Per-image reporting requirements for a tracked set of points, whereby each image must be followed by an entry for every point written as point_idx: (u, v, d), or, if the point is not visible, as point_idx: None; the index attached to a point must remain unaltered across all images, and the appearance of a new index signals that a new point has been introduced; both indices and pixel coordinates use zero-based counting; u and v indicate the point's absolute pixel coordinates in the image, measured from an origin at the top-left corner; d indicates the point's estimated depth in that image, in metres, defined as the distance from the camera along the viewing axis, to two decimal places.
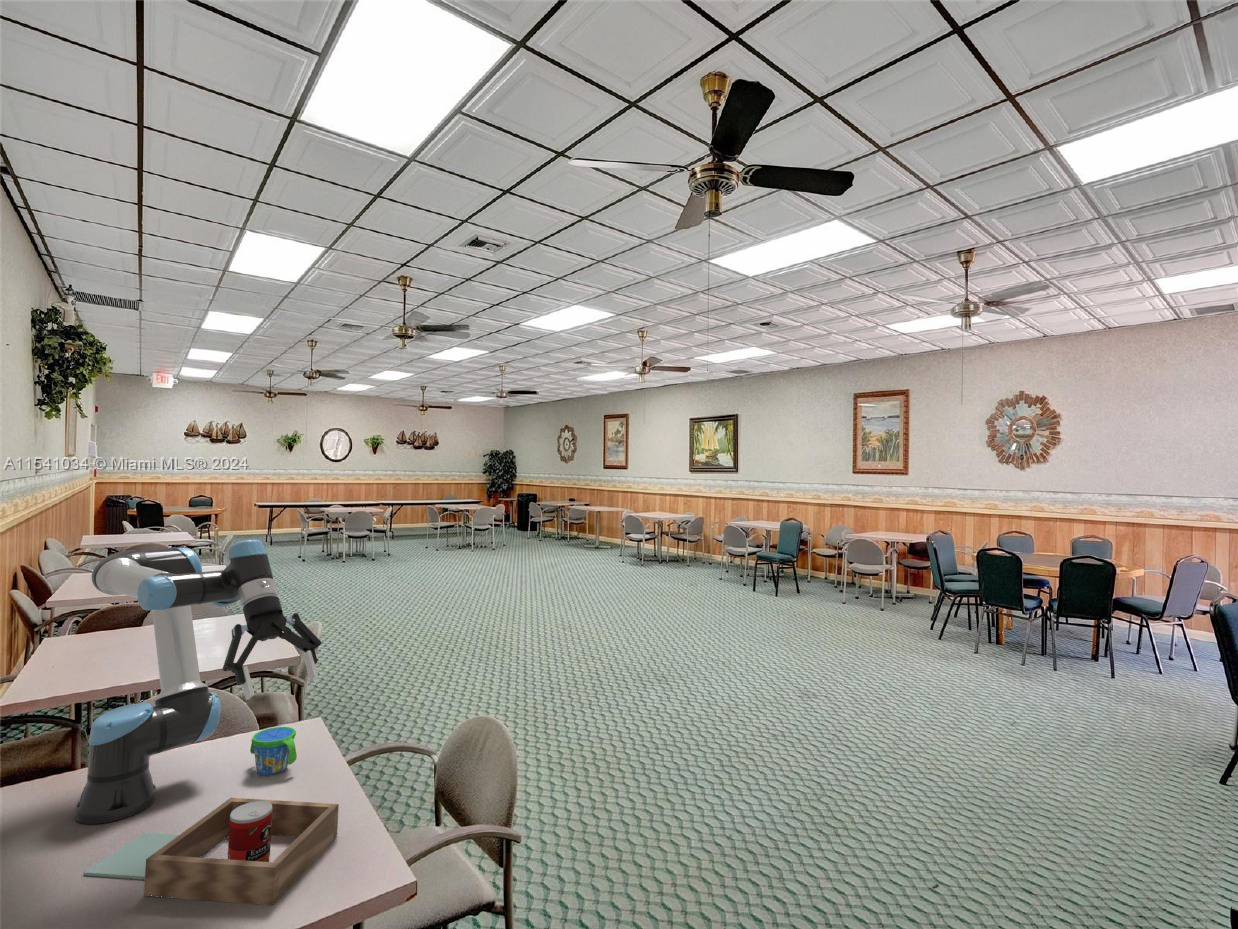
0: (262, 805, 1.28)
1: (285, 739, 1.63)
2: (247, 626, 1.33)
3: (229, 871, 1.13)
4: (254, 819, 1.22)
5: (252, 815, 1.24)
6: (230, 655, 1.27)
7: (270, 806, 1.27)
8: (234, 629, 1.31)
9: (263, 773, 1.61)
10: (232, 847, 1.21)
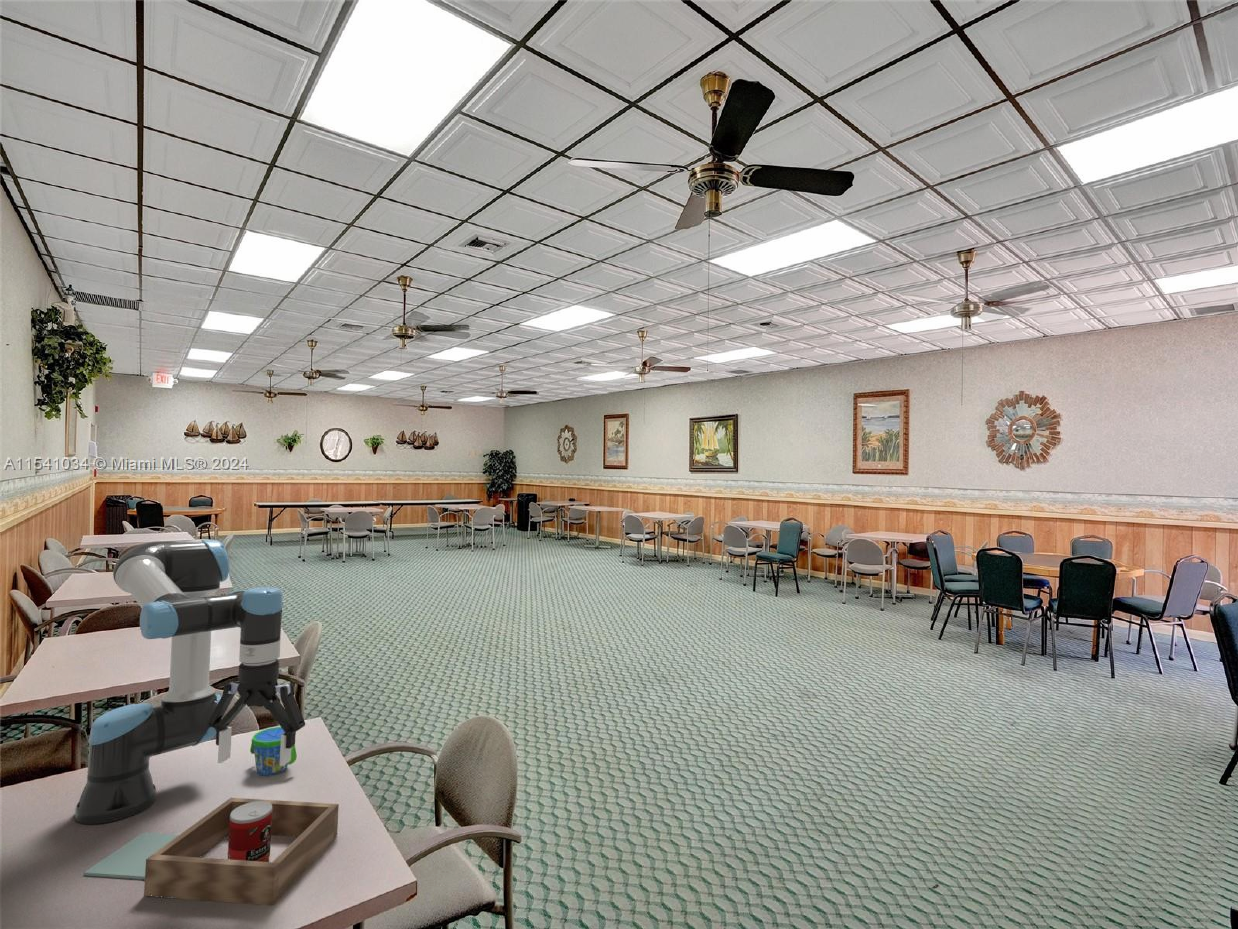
0: (262, 805, 1.28)
1: None
2: (237, 687, 1.26)
3: (229, 871, 1.13)
4: (254, 819, 1.22)
5: (251, 815, 1.24)
6: (212, 716, 1.25)
7: (270, 806, 1.27)
8: None
9: (263, 773, 1.61)
10: (232, 847, 1.21)
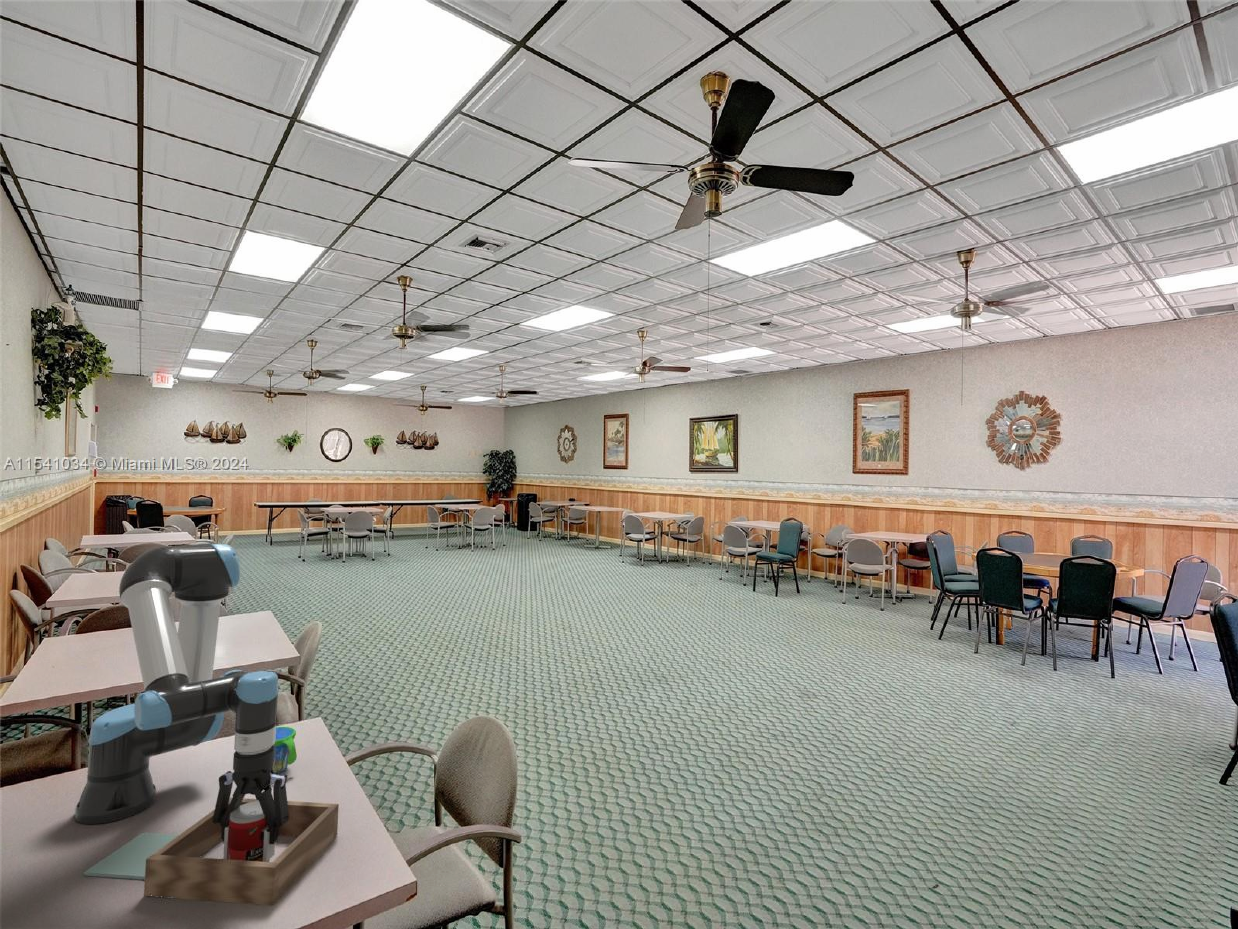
0: None
1: (285, 739, 1.63)
2: (232, 776, 1.25)
3: (229, 871, 1.13)
4: (254, 819, 1.22)
5: (251, 815, 1.24)
6: (215, 811, 1.24)
7: None
8: None
9: None
10: (231, 847, 1.21)
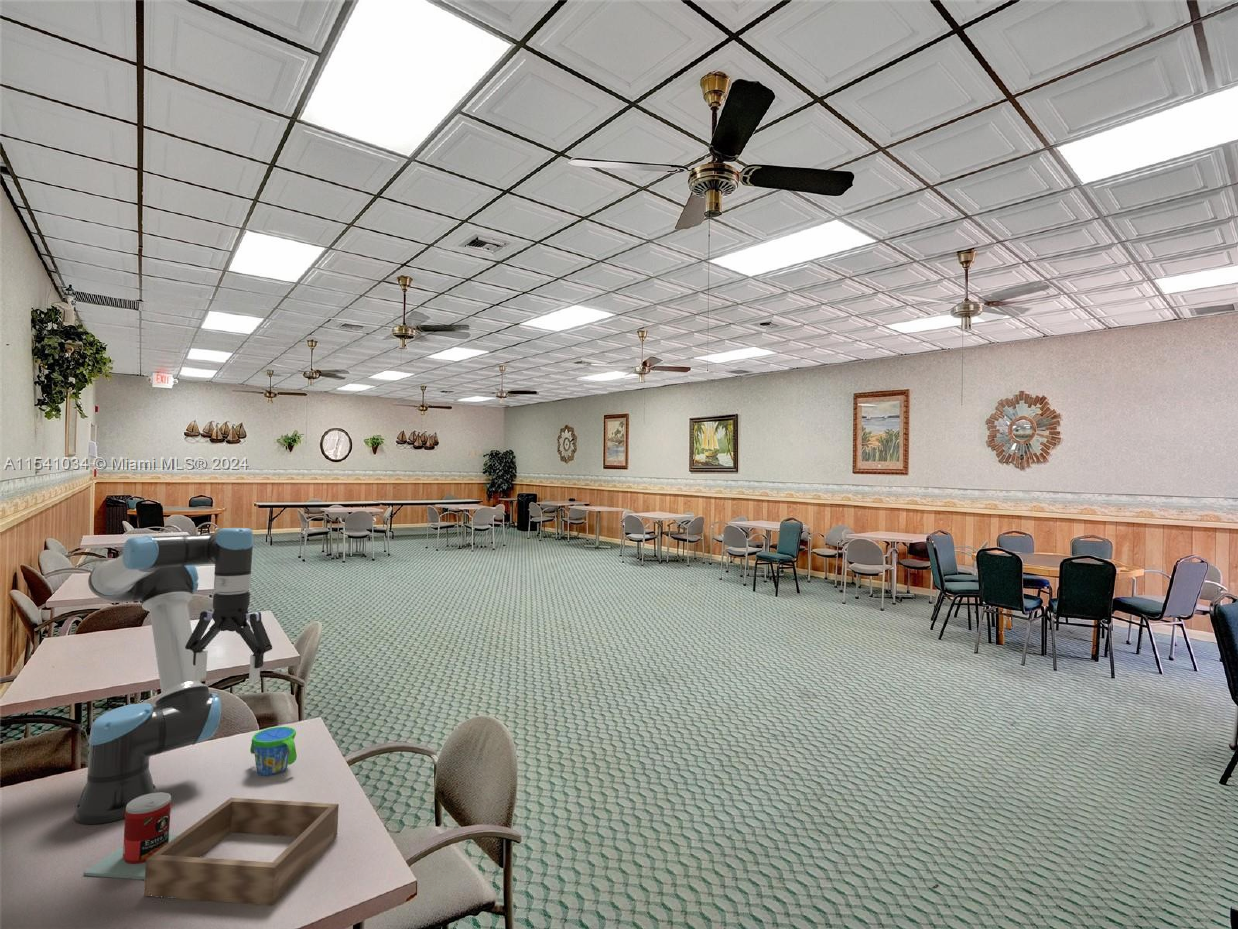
0: (161, 796, 1.29)
1: (285, 739, 1.63)
2: (212, 614, 1.42)
3: (229, 871, 1.13)
4: (149, 810, 1.24)
5: (148, 806, 1.25)
6: (190, 639, 1.42)
7: (169, 797, 1.28)
8: None
9: (263, 773, 1.61)
10: (126, 838, 1.23)
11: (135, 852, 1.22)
